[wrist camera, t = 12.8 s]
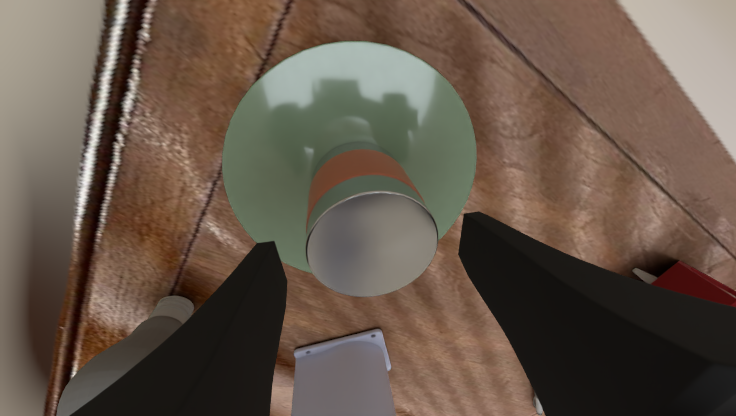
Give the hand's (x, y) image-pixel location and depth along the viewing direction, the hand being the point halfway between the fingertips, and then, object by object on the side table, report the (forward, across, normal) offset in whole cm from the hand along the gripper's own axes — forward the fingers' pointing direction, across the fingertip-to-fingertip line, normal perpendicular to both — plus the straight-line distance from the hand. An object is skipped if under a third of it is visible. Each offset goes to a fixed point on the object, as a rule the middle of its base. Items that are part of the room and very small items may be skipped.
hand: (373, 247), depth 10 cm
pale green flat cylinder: (+10, 0, 0) cm, 10 cm away
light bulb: (+10, +16, +11) cm, 22 cm away
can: (+5, 0, 0) cm, 5 cm away
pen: (+10, -25, +42) cm, 50 cm away
